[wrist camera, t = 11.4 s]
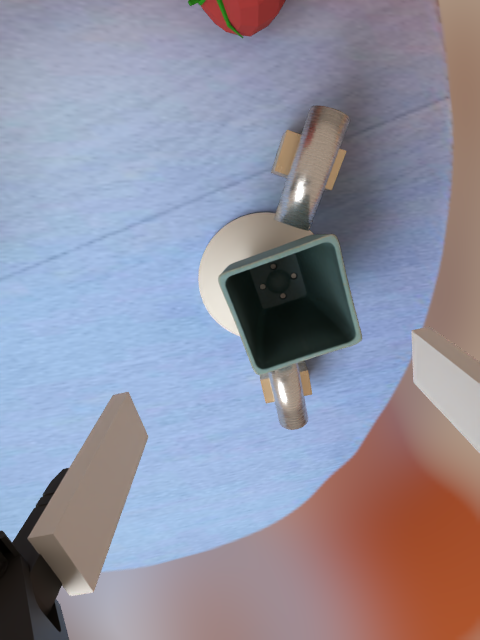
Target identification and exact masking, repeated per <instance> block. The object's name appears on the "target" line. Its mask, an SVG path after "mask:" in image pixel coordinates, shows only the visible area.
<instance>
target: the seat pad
mask: <svg viewBox="0 0 480 640" xmlns="http://www.w3.org/2000/svg"><path fill="white" fill-rule="evenodd" d="M275 214H276V213H269V212H264V213H254V214H249V215H245V216H242V217H240V218H238V219H235V220H233V221H232V222H230V223H229V224H227V225H225V226H224V227H223V228H222V229H221V230H220V231H218V232H217V234H216V235H215V236H214V237H213V238H212V239H211V241H210V242H209V244H208V245H207V247H206V249H205V251H204V253H203V256H202V259H201V262H200V267H199V277H198V281H199V289H200V294H201V297H202V300H203V303H204V305H205V307H206V309H207V310H208V312H209V313H210V315H211V316H212V317H213V318H214V319H215V321H216V322H217V323H219V324H220V325H221V326H222V327H223V328H225V329H226V330H228V331H229V332H231V333H233V334H235V335H238V336H240V334H239V332H238V329H237V327H236V324H235V322H234V319H233V317H232V314H231V312H230V309H229V307H228V305H227V303H226V300H225V298H224V295H223V293H222V291H221V288H220V286H219V283H218V277H219V275H220V274H221V273H222V272H223V271H224V270H225V269H226V268H227V267H228V266H229V265H230V264H232V263H234V262H237V261H240V260H243V259H246V258H248V257H251V256H254V255H257V254H259V253H262V252H265V251H268V250H270V249H273V248H276V247H279V246H281V245H284V244H287V243H289V242H292V241H295V240H298V239H300V238H303V237H306V236H309V235H314V234H313V233H312V232H311V231H310V230H309V231H306V230H303V229H299V228H296V227H293V226H290V225H287V224H284V223H281V222H279V221H276V220H274V217H275ZM275 267H276V265H275V264H272V265H271V268H272V269H274V268H275ZM291 277H292V278H296V274H295V273H293V274H292V275H291ZM260 288H261V289H265V285H264V284H262V285H260ZM285 296H286V295H285V294H284V293H282V294H281V295H280V297H281V298H285Z"/></svg>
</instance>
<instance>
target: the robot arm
mask: <svg viewBox="0 0 480 640" xmlns="http://www.w3.org/2000/svg"><path fill="white" fill-rule="evenodd" d="M412 354H413V381H414V383H415V384H416V386H417V387H418V388H419V389H420V390H421V391H422V392H423V393H424V394H425V395H426V396H427V397H428V398H429V399H430V401H431V402H432V403H433V404H434V405H435V406H436V407H437V408H438V409H439V410H440V411H441V412H442V413H443V414H444V416H445V417H446V418H447V419H448V420H449V421H450V422H451V423H452V424H453V425H454V426H455V427H456V428H457V429H458V430H459V432H460V433H461V434H462V435H463V436H464V437H465V438H466V439H467V440H468V441H469V442H470V443H471V444H472V445H473V447H475V449H476V450H477V451H478V452H479V453H480V361H478V360H477V359H475V358H474V357H472V356H471V355H469V354H468V353H466V352H465V351H464V350H462V349H461V348H459V347H458V346H457V345H455V344H454V343H452V342H451V341H449V340H448V339H446V338H445V337H443V336H442V335H440V334H439V333H438V332H436V331H435V330H433V329H432V328H430V327H425V328H421V329H416V330H412ZM147 439H148V435H147V433H146V430H145V428H144V426H143V424H142V421H141V419H140V417H139V415H138V412H137V410H136V408H135V406H134V403H133V401H132V399H131V397H130V394H129V392H125V393H121V394H116V395H113V396H112V398H111V399H110V401H109V403H108V404H107V406H106V408H105V409H104V411H103V413H102V414H101V416H100V418H99V419H98V421H97V423H96V424H95V426H94V428H93V429H92V431H91V433H90V434H89V436H88V438H87V439H86V441H85V443H84V444H83V446H82V448H81V449H80V451H79V453H78V454H77V456H76V458H75V459H74V461H73V463H72V464H71V466H70V468H66V469H63V470H62V471H61V472H60V473H59V474H58V475H57V476H56V477H55V478H54V479H53V480H52V481H51V482H50V484H49V485H48V487H47V489H46V490H45V492H44V493H43V497H41V498H40V500H39V501H38V503H37V504H36V508H34V509H33V511H32V512H31V514H30V516H29V517H28V519H27V520H26V522H25V523H24V525H23V527H22V528H21V530H20V531H19V533H18V534H17V536H16V538H15V539H14V541H13V542H11V541H10V540H9V538H8V537H7V536H6V534H5V533H4V532H3V531H0V640H69V637H68V634H67V630H66V626H65V622H64V618H63V614H62V610H61V606H60V604H59V603H58V601H57V600H56V597H57V595H58V593H59V590H60V588H61V586H63V587H64V588H65V590H66V591H67V592H68V594H69V595H70V596H74V595H80V594H86V593H91V592H94V589H95V587H96V584H97V581H98V578H99V575H100V573H101V570H102V567H103V564H104V561H105V558H106V556H107V553H108V550H109V547H110V544H111V541H112V538H113V536H114V533H115V530H116V527H117V524H118V521H119V519H120V516H121V513H122V510H123V507H124V504H125V502H126V499H127V496H128V493H129V490H130V487H131V484H132V482H133V479H134V476H135V473H136V470H137V467H138V465H139V462H140V459H141V456H142V453H143V450H144V448H145V445H146V442H147Z"/></svg>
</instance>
